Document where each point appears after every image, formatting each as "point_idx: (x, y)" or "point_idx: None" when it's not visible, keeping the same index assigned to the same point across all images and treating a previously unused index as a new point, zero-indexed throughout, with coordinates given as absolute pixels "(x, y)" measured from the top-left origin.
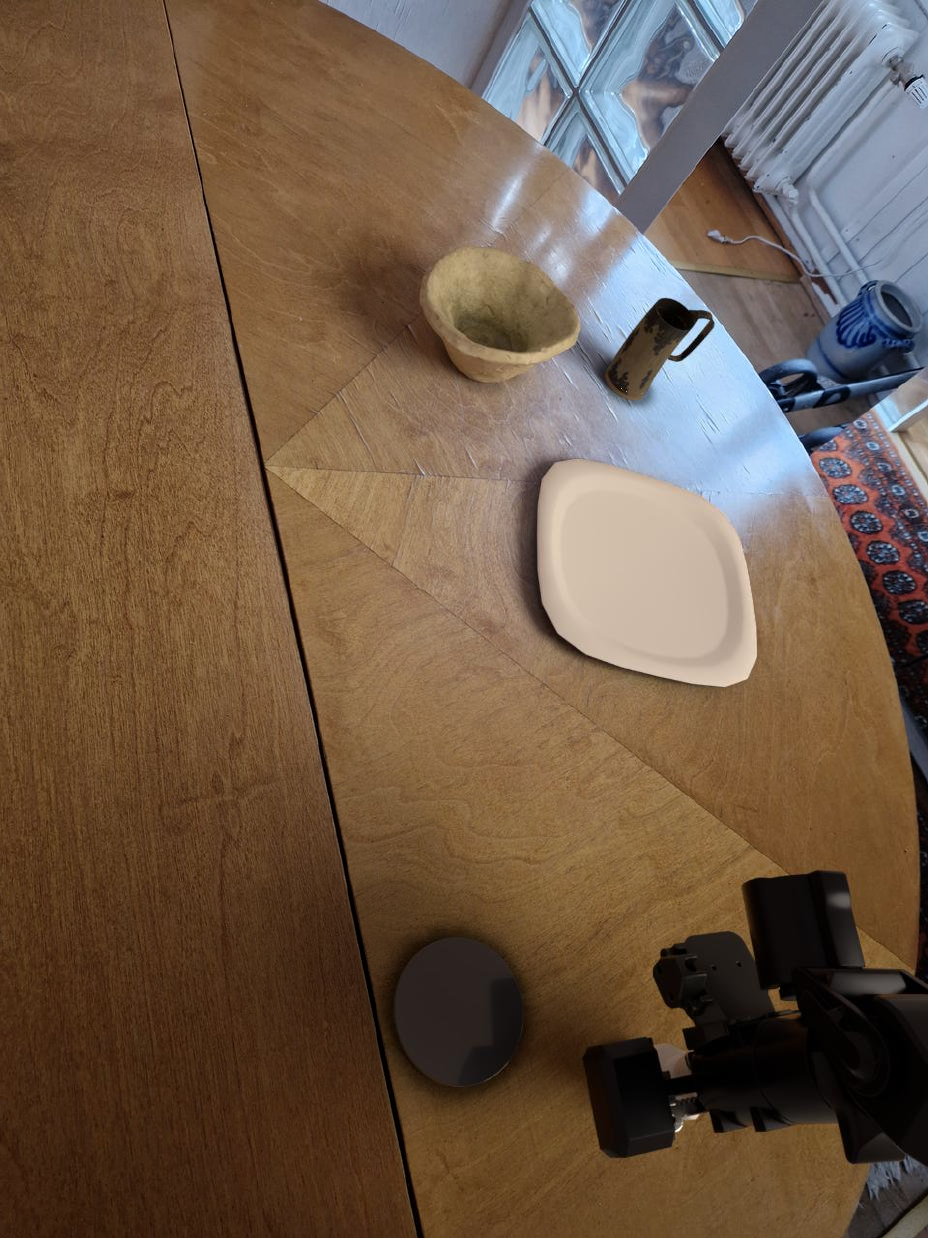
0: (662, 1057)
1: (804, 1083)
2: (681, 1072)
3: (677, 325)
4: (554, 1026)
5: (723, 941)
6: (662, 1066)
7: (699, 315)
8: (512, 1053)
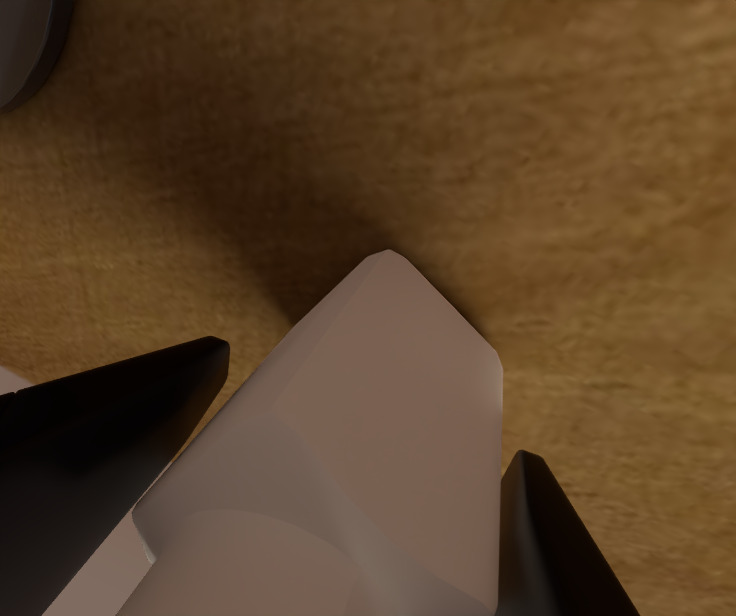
0: (208, 473)
1: None
2: None
3: None
4: (190, 62)
5: None
6: (184, 503)
7: None
8: (15, 82)
